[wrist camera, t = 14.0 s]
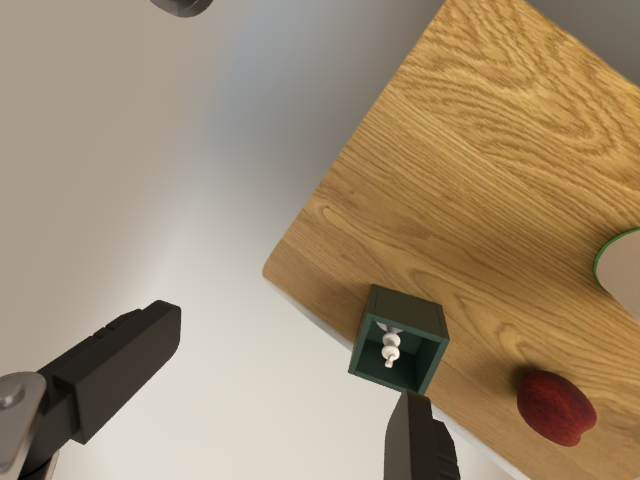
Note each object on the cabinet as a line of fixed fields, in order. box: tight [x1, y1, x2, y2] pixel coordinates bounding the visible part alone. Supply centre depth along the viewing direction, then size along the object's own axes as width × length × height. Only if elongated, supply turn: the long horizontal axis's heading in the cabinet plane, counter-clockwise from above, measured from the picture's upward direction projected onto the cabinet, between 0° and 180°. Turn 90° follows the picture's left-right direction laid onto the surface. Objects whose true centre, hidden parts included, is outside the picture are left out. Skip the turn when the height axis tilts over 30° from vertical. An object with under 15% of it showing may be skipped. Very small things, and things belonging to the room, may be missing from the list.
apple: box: [517, 371, 597, 447], centre depth 36 cm, size 7×8×8 cm
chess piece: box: [377, 322, 403, 368], centre depth 37 cm, size 5×5×10 cm
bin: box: [348, 284, 450, 396], centre depth 39 cm, size 10×10×8 cm
